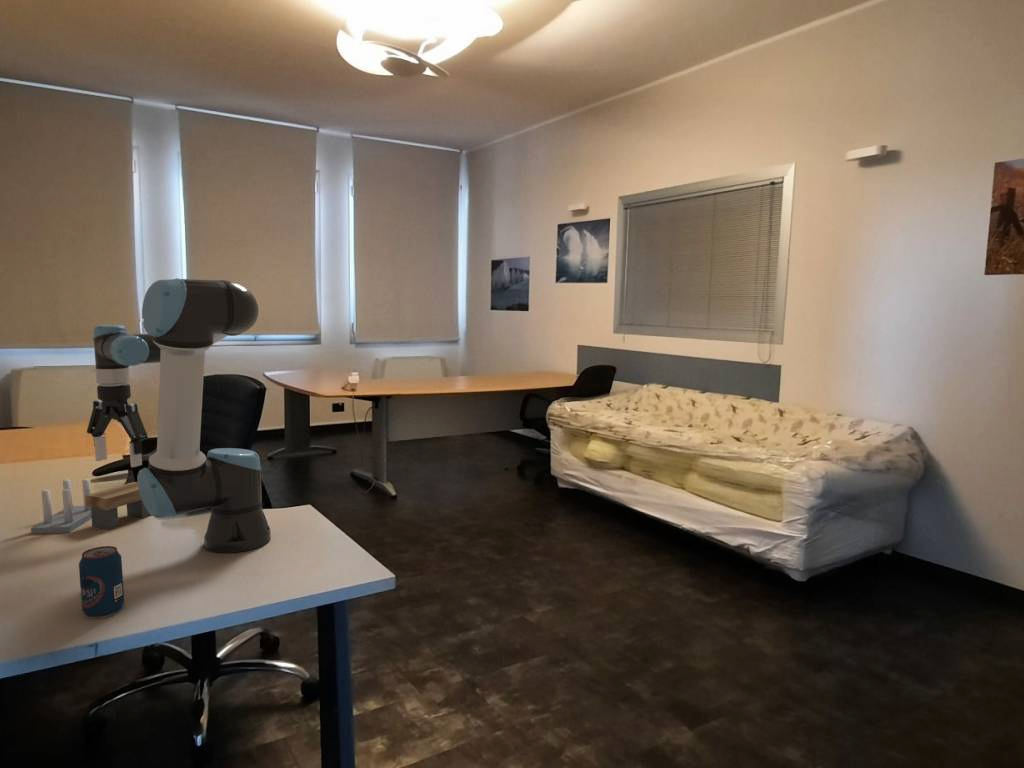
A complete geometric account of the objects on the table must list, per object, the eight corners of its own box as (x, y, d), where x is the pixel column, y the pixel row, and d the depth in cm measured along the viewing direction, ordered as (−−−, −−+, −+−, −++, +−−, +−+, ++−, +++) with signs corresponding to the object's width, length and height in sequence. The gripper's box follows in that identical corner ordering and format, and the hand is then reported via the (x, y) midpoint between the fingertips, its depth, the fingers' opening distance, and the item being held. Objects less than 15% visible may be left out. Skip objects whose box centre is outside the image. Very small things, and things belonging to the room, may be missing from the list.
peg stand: (103, 510, 189) (101, 475, 188) (69, 532, 171) (66, 494, 170) (69, 511, 188) (66, 476, 187) (31, 533, 170) (28, 495, 169)
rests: (152, 515, 185) (151, 495, 184) (107, 529, 173) (106, 509, 173) (137, 512, 188) (136, 493, 187) (92, 526, 176) (90, 506, 175)
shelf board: (155, 495, 185) (154, 485, 184) (107, 510, 172) (106, 498, 171) (135, 492, 188) (134, 481, 187) (86, 506, 175) (85, 495, 175)
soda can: (73, 618, 126) (68, 557, 124) (102, 601, 133) (97, 543, 131) (106, 621, 125) (101, 559, 123) (133, 604, 131) (129, 546, 130)
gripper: (159, 385, 174) (164, 465, 177) (95, 379, 184) (100, 454, 187) (133, 389, 167) (138, 471, 170) (68, 382, 177) (73, 460, 180)
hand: (118, 463), depth 179 cm, fingers open, 13 cm apart
